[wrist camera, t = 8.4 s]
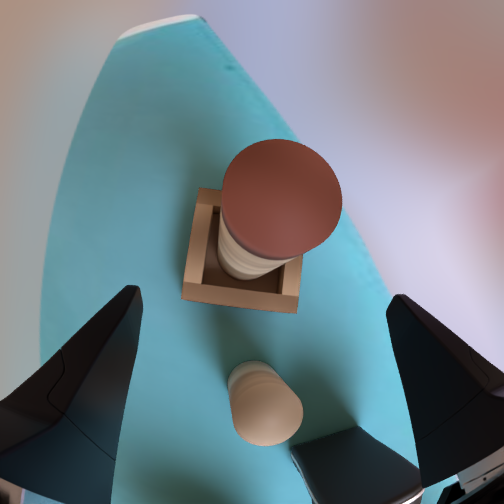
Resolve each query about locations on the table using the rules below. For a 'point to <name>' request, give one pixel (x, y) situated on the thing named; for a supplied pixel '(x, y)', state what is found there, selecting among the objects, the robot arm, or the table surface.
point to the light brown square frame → (220, 284)
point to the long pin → (275, 207)
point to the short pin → (262, 404)
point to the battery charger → (356, 471)
